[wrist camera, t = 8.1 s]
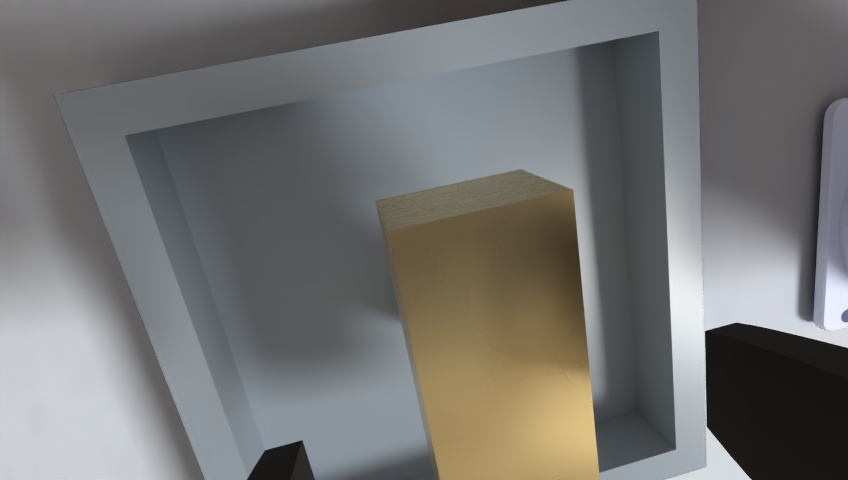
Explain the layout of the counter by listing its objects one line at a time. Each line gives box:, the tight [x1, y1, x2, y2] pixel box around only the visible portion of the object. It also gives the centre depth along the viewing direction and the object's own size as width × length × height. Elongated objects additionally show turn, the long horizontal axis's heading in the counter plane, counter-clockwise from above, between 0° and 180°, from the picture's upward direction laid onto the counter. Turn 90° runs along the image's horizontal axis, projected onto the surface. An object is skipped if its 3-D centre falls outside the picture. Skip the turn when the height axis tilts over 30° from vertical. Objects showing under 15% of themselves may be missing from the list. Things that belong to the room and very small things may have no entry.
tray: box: [54, 0, 706, 480], centre depth 14 cm, size 14×14×2 cm
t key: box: [375, 169, 600, 480], centre depth 12 cm, size 8×3×7 cm, turn 10°
